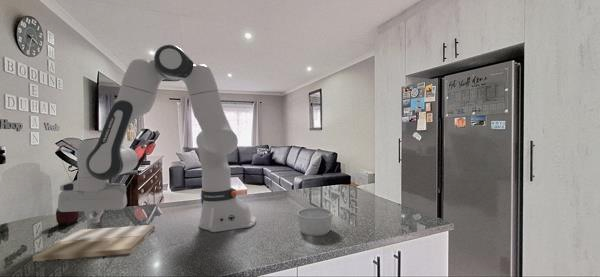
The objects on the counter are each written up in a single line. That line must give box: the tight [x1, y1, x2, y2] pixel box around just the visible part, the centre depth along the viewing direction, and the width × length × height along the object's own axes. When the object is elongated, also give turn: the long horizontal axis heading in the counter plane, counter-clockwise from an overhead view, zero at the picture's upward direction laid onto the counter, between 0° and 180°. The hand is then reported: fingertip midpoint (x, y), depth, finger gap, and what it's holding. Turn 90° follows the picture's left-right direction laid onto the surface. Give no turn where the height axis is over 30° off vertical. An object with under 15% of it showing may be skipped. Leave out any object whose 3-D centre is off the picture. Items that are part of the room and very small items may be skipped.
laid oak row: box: [32, 236, 145, 263], centre depth 84 cm, size 26×10×2 cm, turn 100°
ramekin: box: [296, 206, 333, 237], centre depth 99 cm, size 13×13×7 cm
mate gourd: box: [55, 207, 80, 227], centre depth 108 cm, size 8×8×15 cm
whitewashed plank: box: [58, 224, 156, 242], centre depth 94 cm, size 26×10×2 cm, turn 100°
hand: (94, 222), depth 93 cm, fingers closed
